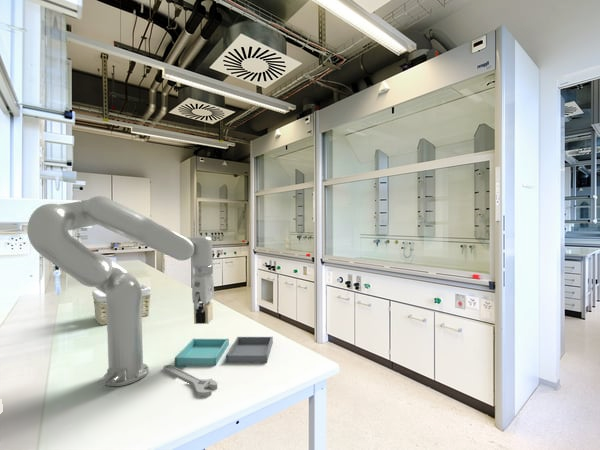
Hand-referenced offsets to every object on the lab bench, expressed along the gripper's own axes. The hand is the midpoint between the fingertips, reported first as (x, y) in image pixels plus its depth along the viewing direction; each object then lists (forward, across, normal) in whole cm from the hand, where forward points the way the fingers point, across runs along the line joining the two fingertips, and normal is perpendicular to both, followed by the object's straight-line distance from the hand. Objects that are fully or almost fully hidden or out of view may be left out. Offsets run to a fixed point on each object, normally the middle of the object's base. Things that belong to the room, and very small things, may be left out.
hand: (203, 319), depth 109 cm
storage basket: (+13, +42, +57) cm, 72 cm away
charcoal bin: (+13, +2, -17) cm, 21 cm away
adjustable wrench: (+14, -16, -1) cm, 21 cm away
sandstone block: (+1, 0, 0) cm, 1 cm away
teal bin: (+13, 0, 0) cm, 13 cm away
